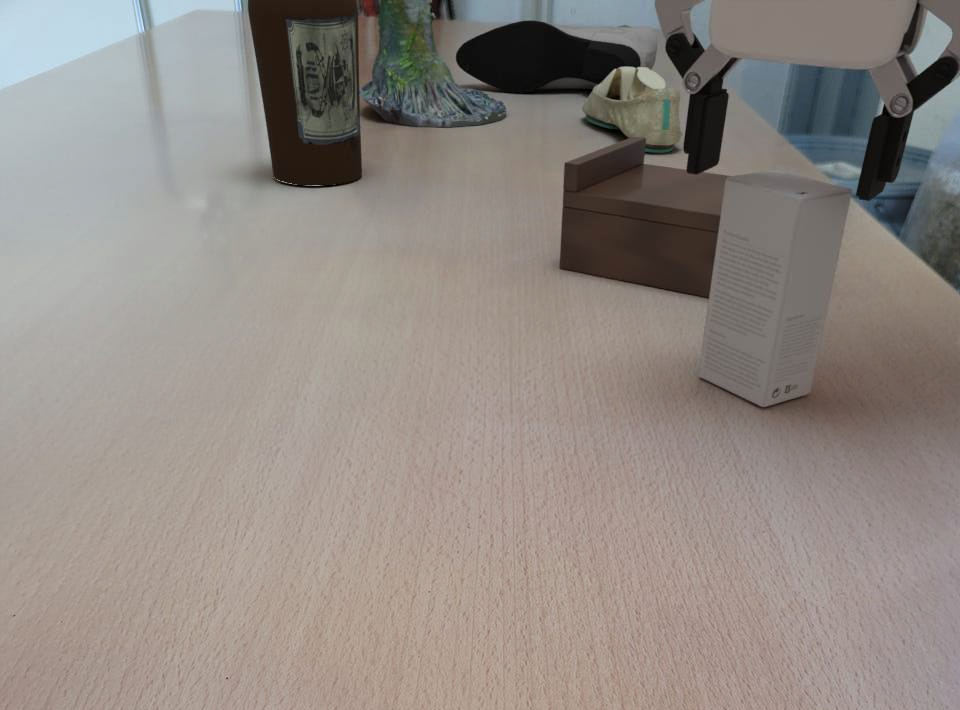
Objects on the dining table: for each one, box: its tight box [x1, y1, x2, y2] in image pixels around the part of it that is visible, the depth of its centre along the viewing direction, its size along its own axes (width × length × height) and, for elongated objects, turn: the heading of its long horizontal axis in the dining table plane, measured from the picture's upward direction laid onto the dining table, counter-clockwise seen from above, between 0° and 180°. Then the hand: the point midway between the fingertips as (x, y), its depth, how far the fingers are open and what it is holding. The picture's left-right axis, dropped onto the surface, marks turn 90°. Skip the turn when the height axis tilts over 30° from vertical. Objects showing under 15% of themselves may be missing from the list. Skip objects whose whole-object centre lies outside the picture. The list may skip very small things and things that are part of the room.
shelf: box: [559, 136, 730, 299], centre depth 80 cm, size 16×12×8 cm
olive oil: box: [247, 0, 363, 186], centre depth 99 cm, size 11×11×25 cm
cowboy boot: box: [455, 19, 659, 95], centre depth 154 cm, size 10×28×25 cm
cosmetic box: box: [697, 169, 853, 408], centre depth 59 cm, size 6×4×12 cm
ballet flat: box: [581, 67, 683, 154], centre depth 123 cm, size 8×25×8 cm, turn 15°
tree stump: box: [359, 0, 507, 128], centre depth 132 cm, size 18×20×18 cm
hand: (782, 182), depth 56 cm, fingers open, 9 cm apart
